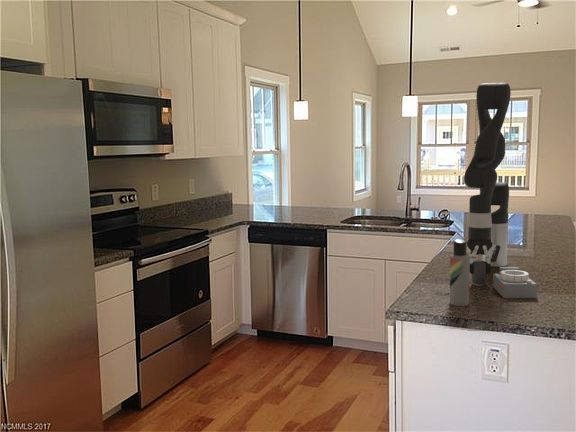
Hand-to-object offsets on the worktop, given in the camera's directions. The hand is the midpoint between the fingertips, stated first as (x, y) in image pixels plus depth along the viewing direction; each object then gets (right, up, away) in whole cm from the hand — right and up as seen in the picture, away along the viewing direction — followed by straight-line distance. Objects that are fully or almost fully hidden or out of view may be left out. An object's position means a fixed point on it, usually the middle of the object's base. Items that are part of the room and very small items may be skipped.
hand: (478, 273), depth 191 cm
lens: (0, -4, 0) cm, 4 cm away
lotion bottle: (-14, -7, -22) cm, 27 cm away
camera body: (+8, -5, -10) cm, 14 cm away
